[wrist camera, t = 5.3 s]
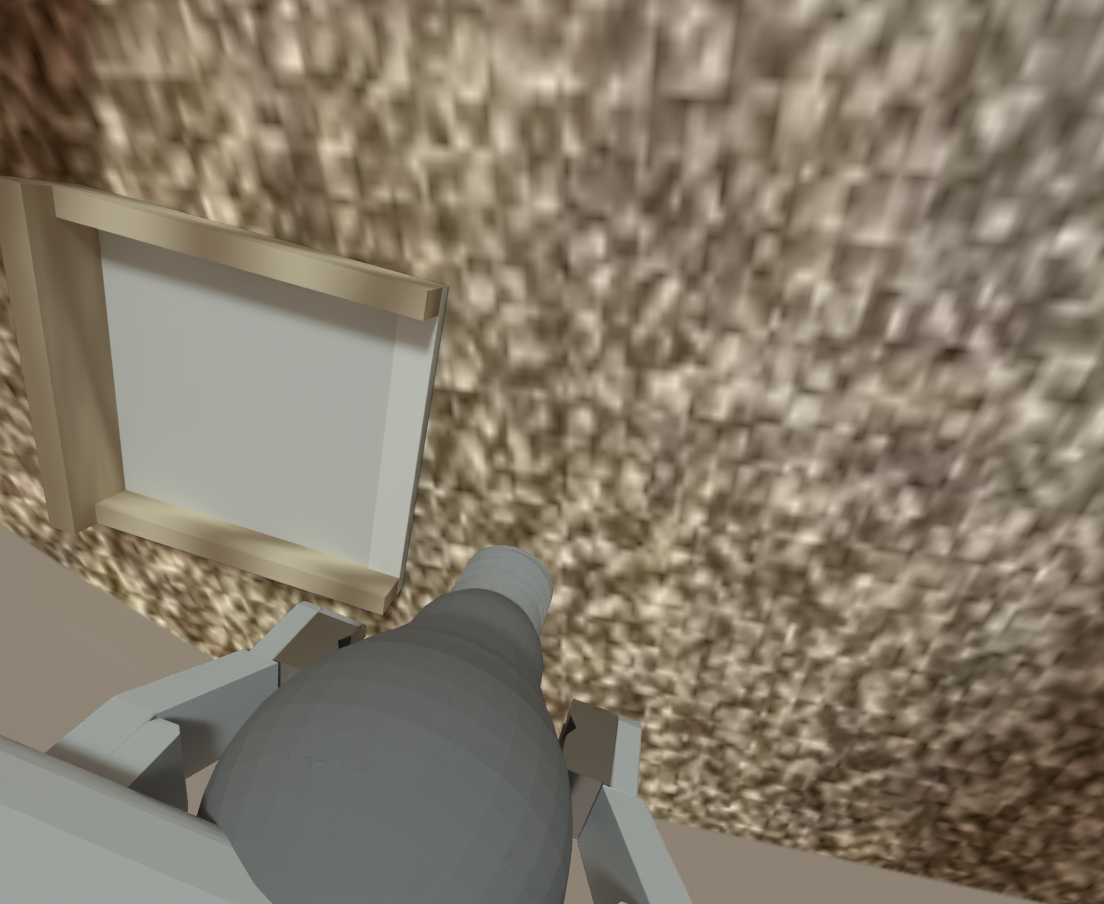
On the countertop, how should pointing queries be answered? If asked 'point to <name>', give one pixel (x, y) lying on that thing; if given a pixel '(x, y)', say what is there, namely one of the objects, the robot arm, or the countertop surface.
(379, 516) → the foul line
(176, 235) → the tan piece
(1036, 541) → the countertop surface
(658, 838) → the robot arm
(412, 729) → the light bulb
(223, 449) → the white flat square tray
